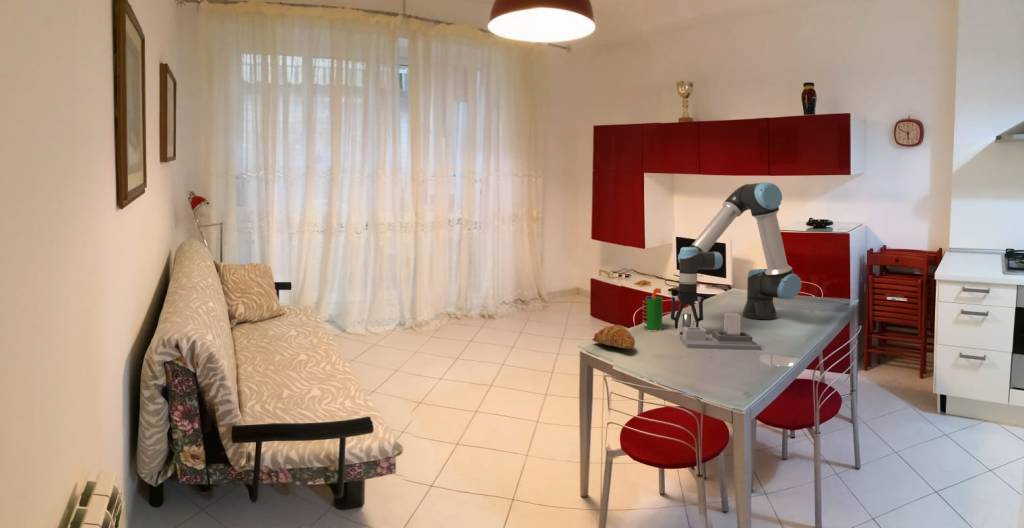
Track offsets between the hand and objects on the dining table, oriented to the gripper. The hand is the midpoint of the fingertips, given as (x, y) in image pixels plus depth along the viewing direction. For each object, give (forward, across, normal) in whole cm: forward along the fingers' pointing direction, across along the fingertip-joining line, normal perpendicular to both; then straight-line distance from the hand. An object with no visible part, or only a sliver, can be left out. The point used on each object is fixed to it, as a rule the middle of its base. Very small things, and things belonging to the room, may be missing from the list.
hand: (686, 336), depth 270 cm
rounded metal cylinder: (0, 0, 0) cm, 0 cm away
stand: (0, -10, +16) cm, 19 cm away
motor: (0, +14, -9) cm, 16 cm away
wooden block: (-2, -15, +16) cm, 22 cm away
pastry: (+1, +32, +22) cm, 39 cm away
